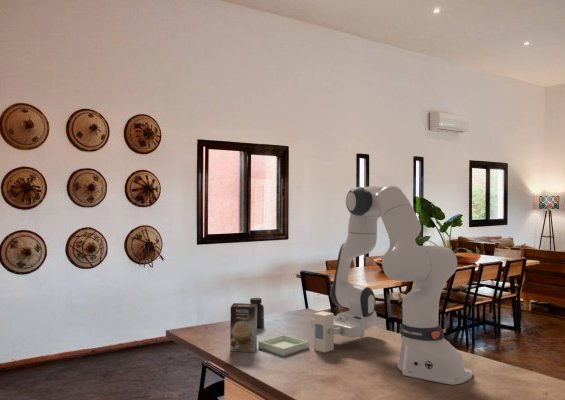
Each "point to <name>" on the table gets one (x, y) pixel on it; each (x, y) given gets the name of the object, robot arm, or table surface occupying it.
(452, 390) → the table surface
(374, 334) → the table surface
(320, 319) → the box
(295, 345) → the tray
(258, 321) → the supplement bottle
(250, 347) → the coffee box
